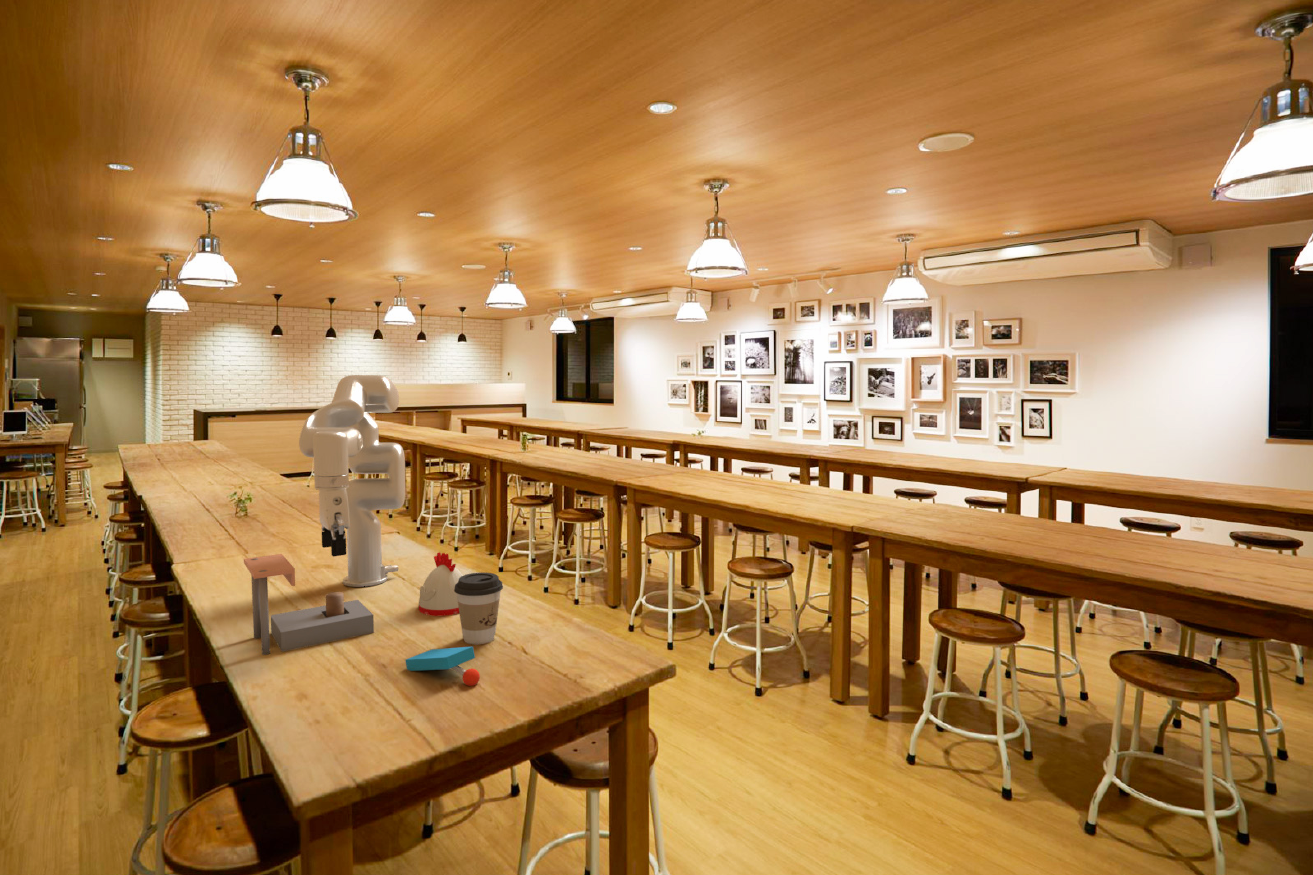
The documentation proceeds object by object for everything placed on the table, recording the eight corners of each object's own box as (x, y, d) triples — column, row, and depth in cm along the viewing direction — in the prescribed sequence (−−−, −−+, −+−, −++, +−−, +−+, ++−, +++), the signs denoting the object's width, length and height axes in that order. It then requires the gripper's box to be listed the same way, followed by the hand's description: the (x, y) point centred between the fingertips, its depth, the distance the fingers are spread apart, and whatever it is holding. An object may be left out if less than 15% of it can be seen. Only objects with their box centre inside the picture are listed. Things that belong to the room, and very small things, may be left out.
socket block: (358, 616, 177) (357, 599, 177) (373, 632, 166) (373, 614, 166) (271, 633, 165) (270, 615, 165) (281, 651, 154) (281, 632, 154)
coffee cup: (478, 652, 155) (477, 587, 154) (444, 641, 161) (443, 579, 160) (513, 636, 165) (513, 576, 164) (480, 627, 171) (479, 568, 170)
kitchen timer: (450, 596, 195) (449, 544, 194) (482, 605, 187) (481, 552, 186) (408, 609, 184) (406, 554, 183) (440, 619, 176) (439, 563, 175)
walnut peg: (342, 626, 170) (341, 591, 170) (346, 630, 167) (345, 595, 167) (324, 629, 168) (323, 594, 167) (328, 634, 165) (327, 598, 164)
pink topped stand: (284, 629, 168) (281, 553, 166) (297, 650, 155) (294, 568, 154) (246, 636, 163) (243, 558, 161) (257, 658, 150) (253, 574, 149)
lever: (411, 692, 145) (464, 691, 135) (404, 659, 146) (457, 656, 136) (437, 680, 151) (491, 679, 141) (431, 649, 152) (484, 645, 141)
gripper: (357, 485, 160) (359, 556, 162) (339, 475, 174) (341, 541, 175) (323, 488, 155) (325, 561, 157) (307, 478, 169) (309, 545, 171)
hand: (334, 551), depth 166 cm, fingers open, 9 cm apart
